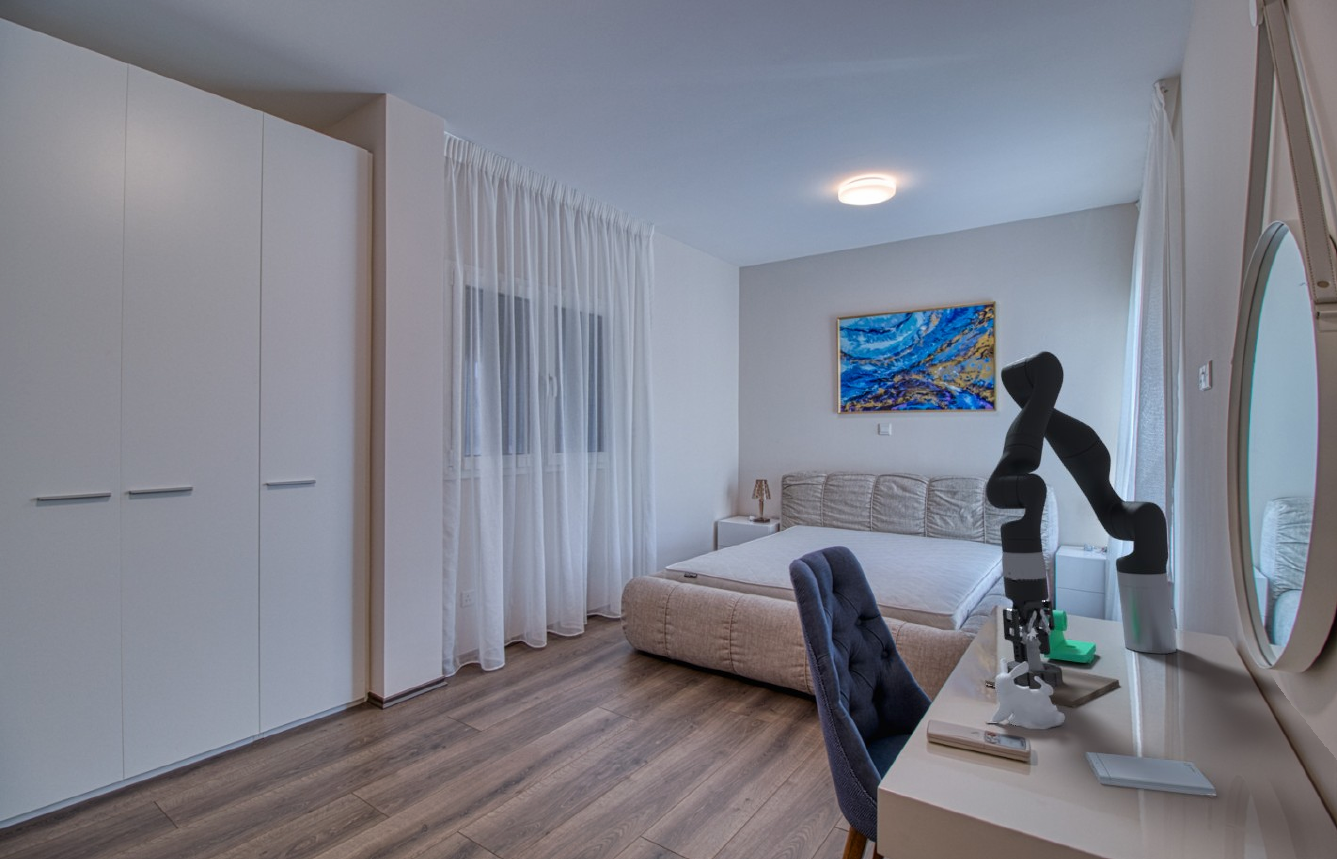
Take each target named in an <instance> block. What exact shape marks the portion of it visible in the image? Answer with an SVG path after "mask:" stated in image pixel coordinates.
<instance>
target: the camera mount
mask: <svg viewBox="0 0 1337 859" xmlns="http://www.w3.org/2000/svg"><path fill="white" fill-rule="evenodd" d="M1053 617H1054V624H1055V629H1054V630H1051V634H1050V635H1049V643H1050V654H1048V655H1044V654H1043V657H1044V658H1045V659H1046V658H1047V659H1053V660H1062V661H1069V662H1074V663H1075V662H1076V663H1085V664H1090V663H1091V662H1092V661H1093V660H1094V659H1095V653H1096V652H1097V645H1096V643H1095V642H1091V641H1082V640H1073V639H1066V638H1065V635H1064V632H1067V630H1068V616H1067V612H1066V610H1061V609H1053ZM1046 619H1047V621H1048V622H1049V620H1048V618H1046Z"/></svg>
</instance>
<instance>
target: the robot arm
mask: <svg viewBox="0 0 1337 859" xmlns="http://www.w3.org/2000/svg"><path fill="white" fill-rule="evenodd" d="M1064 376H1065V375H1064V368H1063V366H1062V363H1061V360H1059V358H1058V357H1057V356H1056V355H1055V354H1054V353H1052V352H1050V351H1045V350H1044V351H1039V352H1035V353H1033V354H1030V355H1028V356H1025V357H1023V358H1020V359H1017V360H1014V361H1012V362H1010V363H1007V364H1006V365H1004V366H1003V367H1002V369H1001V371H1000V378H1001V382H1002V385H1003V386H1004V388H1005V390H1006V392H1007V393H1008V395H1009V396H1010V398H1012V400H1013V401H1014V402H1015V403H1016V404H1017V406H1019V408H1020V409H1021V410H1020V412H1019V413H1018V414H1017V415H1016V417H1015V418H1014V420H1013V421H1012V422H1011V424H1010V426H1009V427H1008V430H1007V432H1006V434H1005V439H1004V444H1003V450H1002V455H1001V458H1000V459H999V461H998V463H997V465H996V467H995V468H994V469H993V471H992V473H991V475H990V476H989V478H988V479H987V480H988V481H987V483H986V488H985V490H986V491H985V492H986V499H987V500H988V502H989V504H990V505H991V506H992V507H994V508H996V509H999V510H1020V509H1021V510H1024V513H1023V515H1022V517H1021V518H1020V519H1019V518H1018V519H1014V520H1009V521H1006V522H1004V523H1002V524H1001V525H1000V541H1001V542H1000V543H1001V551H1002V552H1001V553H1002V554H1001V555H1002V556H1001V558H1002V559H1001V564H1002V566H1001V568H1002V577H1003V584H1004V585H1003V586H1004V596H1005V598H1007V599H1008V600H1010V601H1011V602H1012V607H1011V608H1003V609H1002V619H1003V623H1002V624H1003V637H1004V640H1005V641H1009V642H1011V643H1012V649H1013V661H1016V662H1018V663H1023V662H1024V661H1026V662H1028V658H1027V648H1026V644H1025V642H1026V638H1027V636H1029V634H1031V633H1032V629H1033V630H1034V632H1035V638H1036V637H1038V640H1039V641H1040V642H1041V644H1040V646H1039V650H1040V655H1043V656H1044V655H1048V654H1050V643H1049V635H1050V634H1051V630H1054V629H1055V624H1054V617H1053V610H1054V609H1053V604H1052V600H1050V599H1049V597H1050V596H1049V589H1048V576H1047V568H1046V567H1047V565H1046V560H1045V557H1044V553H1043V552H1044V551H1043V545H1042V533H1041V530H1042V519H1043V513H1044V510H1045V509H1044V508H1045V503H1046V500H1047V497H1048V496H1047V494H1048V489H1047V484H1046V482H1045V480H1044V479H1043V478H1042V476H1040V475H1039V474H1037V473H1033V472H1035V471H1037V470H1038V469H1039V467H1040V465H1041V461H1042V455H1043V447H1044V442H1045V441H1047V443H1048V444H1049V445H1050V447H1051V449H1052V450H1053V452H1054V453H1055V455H1056V456H1057V457H1058V459H1059V460H1060V462H1061V463H1062V465H1063V466H1064V467H1065V468H1066V471H1068V473H1069V474H1070V475H1071V476H1072V478H1073V480H1074V481H1075V483H1076V484H1077V485H1078V487H1079V489H1080V490H1081V492H1082V493H1083V495H1084V496H1085V498H1086V499H1087V501H1088V503H1089V505H1090V507H1091V508H1092V510H1093V512H1094V514H1095V515H1096V518H1097V519H1098V521H1099V523H1100V524H1101V526H1102V528H1103V529H1104V531H1105V532H1106V533H1107V534H1108V535H1109V537H1111V538H1113V539H1115V540H1119V541H1122V542H1123V541H1124V542H1133V549H1132V552H1130V553H1129V554H1127V555H1124V556H1121V557H1118V558H1116V559H1115V567H1116V577H1117V584H1118V593H1119V603H1120V611H1121V612H1120V613H1121V620H1122V628H1123V629H1122V630H1123V640H1124V646H1125V647H1126V648H1127V649H1129V650H1132V651H1136V652H1141V653H1148V654H1161V655H1162V654H1173V653H1176V652H1177V647H1176V646H1177V645H1176V638H1175V629H1174V621H1173V620H1174V619H1173V614H1172V612H1173V611H1172V604H1171V596H1170V588H1169V580H1168V571H1167V564H1168V559H1169V546H1168V542H1169V541H1168V527H1167V519H1166V516H1165V514H1164V511H1163V509H1162V507H1160V506H1159V505H1158V504H1157V503H1155V502H1152V501H1135V500H1133V501H1132V500H1130V501H1127V500H1126V501H1125V500H1124V499H1122V498H1121V497H1120V495H1119V494H1118V493H1117V491H1115V489H1114V488H1113V485H1112V483H1111V480H1110V474H1111V464H1112V458H1111V454H1110V451H1109V449H1108V448H1107V446H1106V445H1105V443H1104V442H1103V440H1102V439H1101V437H1100V436H1099V434H1098V433H1097V432H1096V431H1095V430H1094V429H1093V428H1092V427H1091V426H1090V425H1088V424H1087V423H1085V422H1083V421H1081V420H1080V419H1078V418H1075V417H1074V416H1071V415H1069V414H1067V413H1064V412H1063V411H1060V410H1059V409H1057V408H1055V406H1056V402H1057V400H1058V398H1059V394H1060V392H1061V390H1062V387H1063V384H1064ZM1044 439H1045V440H1044ZM1046 618H1048V620H1049V622H1048V621H1047V619H1046ZM1010 629H1011V630H1010ZM1010 631H1011V632H1010Z"/></svg>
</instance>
